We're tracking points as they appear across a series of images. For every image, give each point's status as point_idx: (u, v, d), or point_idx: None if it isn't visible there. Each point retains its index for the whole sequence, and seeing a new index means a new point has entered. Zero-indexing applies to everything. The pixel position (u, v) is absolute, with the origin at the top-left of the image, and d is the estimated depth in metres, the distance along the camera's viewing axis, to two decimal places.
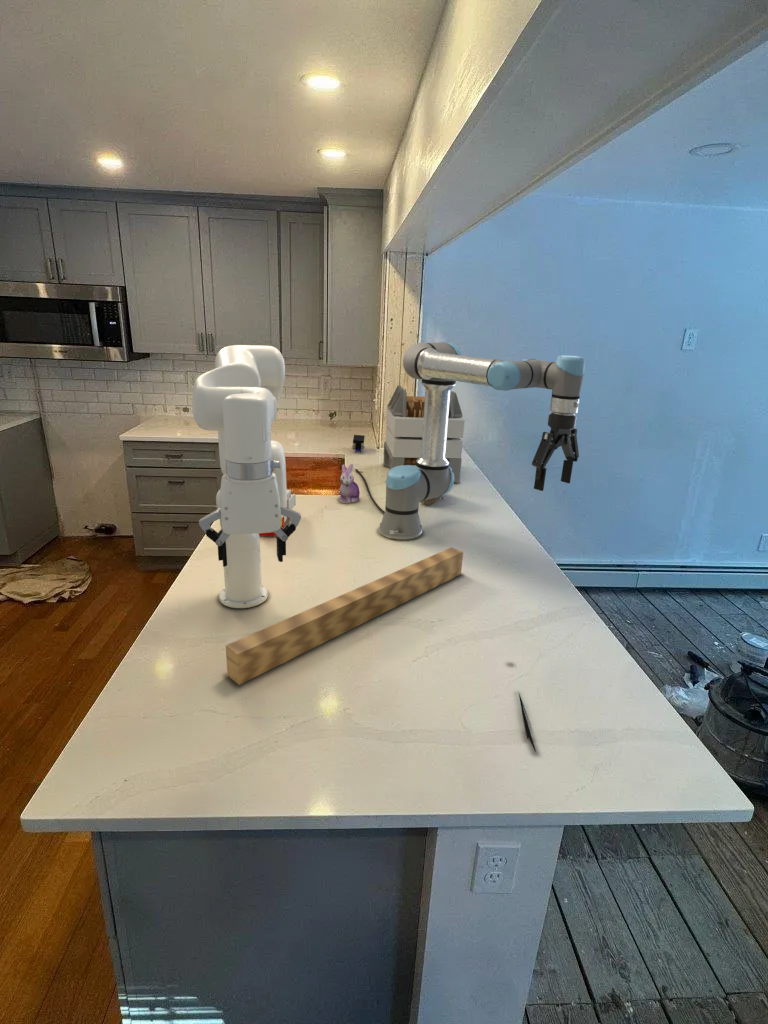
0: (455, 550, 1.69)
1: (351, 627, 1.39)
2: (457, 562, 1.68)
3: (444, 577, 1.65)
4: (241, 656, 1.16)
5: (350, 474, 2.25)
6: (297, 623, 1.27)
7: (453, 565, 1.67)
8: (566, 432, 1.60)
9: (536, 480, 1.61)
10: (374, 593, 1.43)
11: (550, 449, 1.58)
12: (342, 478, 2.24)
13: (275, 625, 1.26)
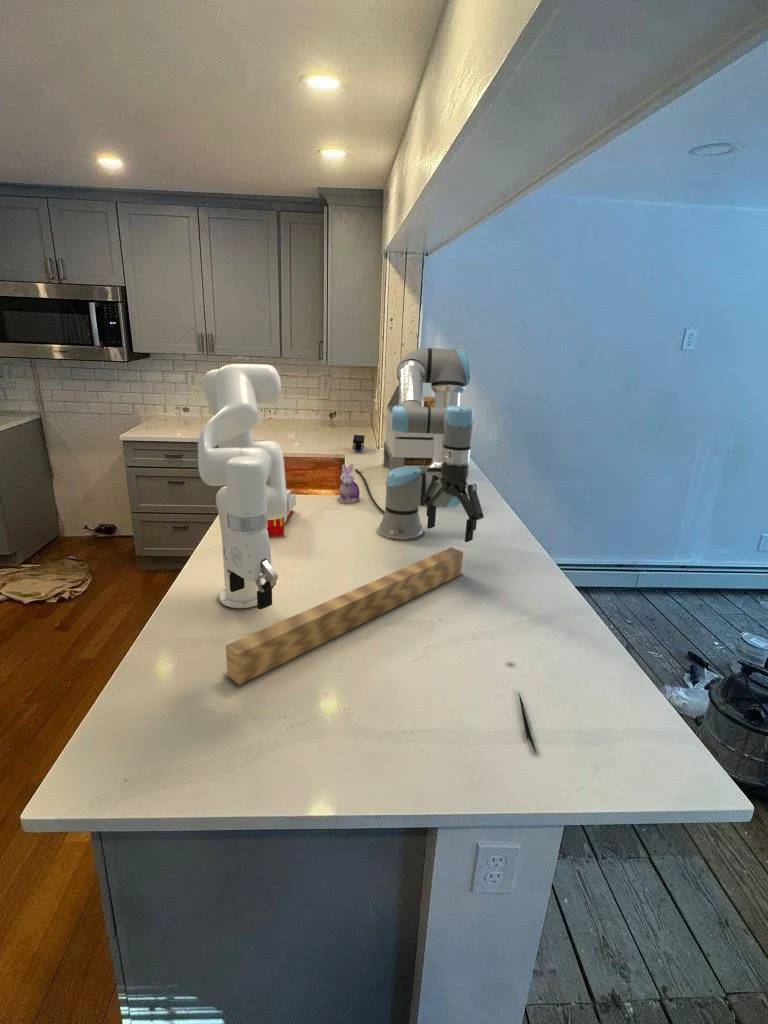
0: (455, 550, 1.69)
1: (351, 627, 1.39)
2: (457, 562, 1.68)
3: (444, 577, 1.65)
4: (241, 656, 1.16)
5: (350, 474, 2.25)
6: (297, 623, 1.27)
7: (453, 565, 1.67)
8: (455, 483, 1.57)
9: None
10: (374, 593, 1.43)
11: None
12: (342, 478, 2.24)
13: (275, 625, 1.26)
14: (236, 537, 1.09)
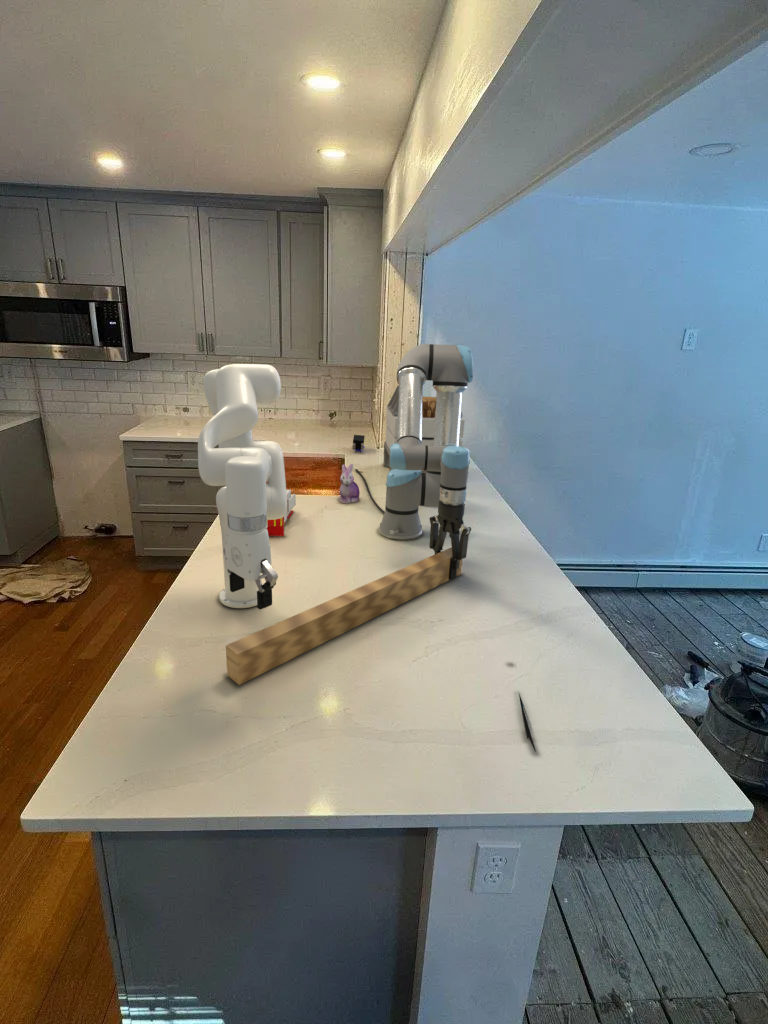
0: None
1: (351, 627, 1.39)
2: None
3: (444, 577, 1.65)
4: (241, 656, 1.16)
5: (350, 474, 2.25)
6: (297, 623, 1.27)
7: None
8: (453, 519, 1.61)
9: None
10: (374, 593, 1.43)
11: None
12: (342, 478, 2.24)
13: (275, 625, 1.26)
14: (236, 537, 1.09)
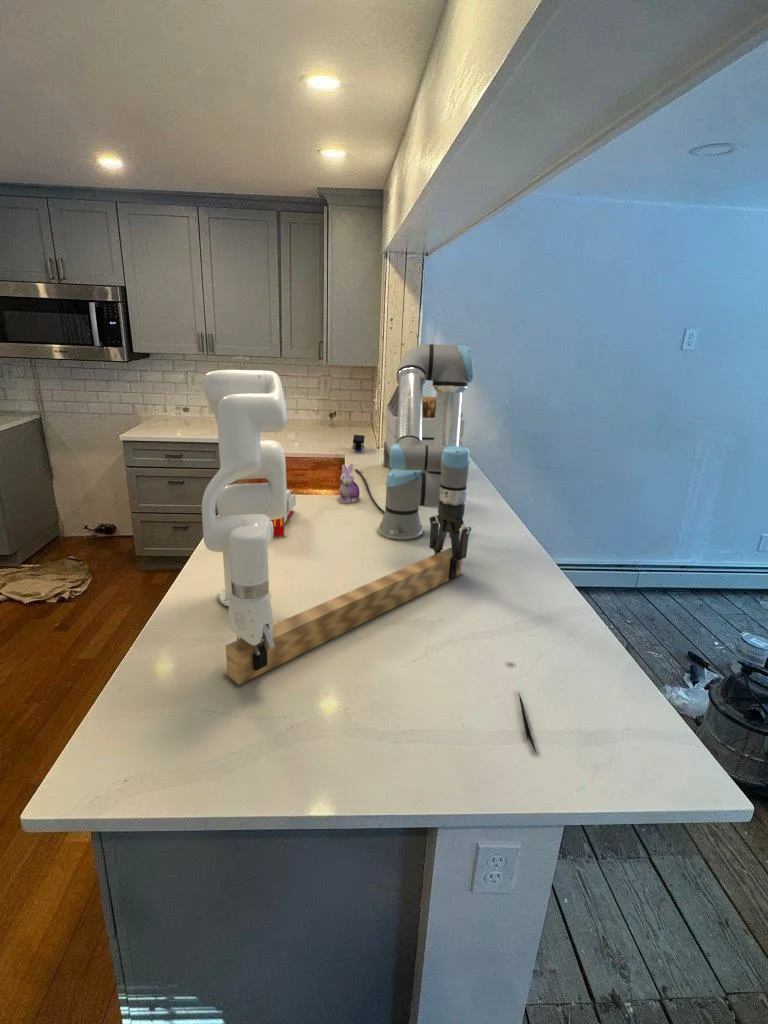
0: None
1: (351, 627, 1.39)
2: None
3: (444, 577, 1.65)
4: (241, 656, 1.16)
5: (350, 474, 2.25)
6: (297, 623, 1.27)
7: None
8: (453, 519, 1.61)
9: None
10: (374, 593, 1.43)
11: None
12: (342, 478, 2.24)
13: (275, 625, 1.26)
14: (239, 603, 1.14)
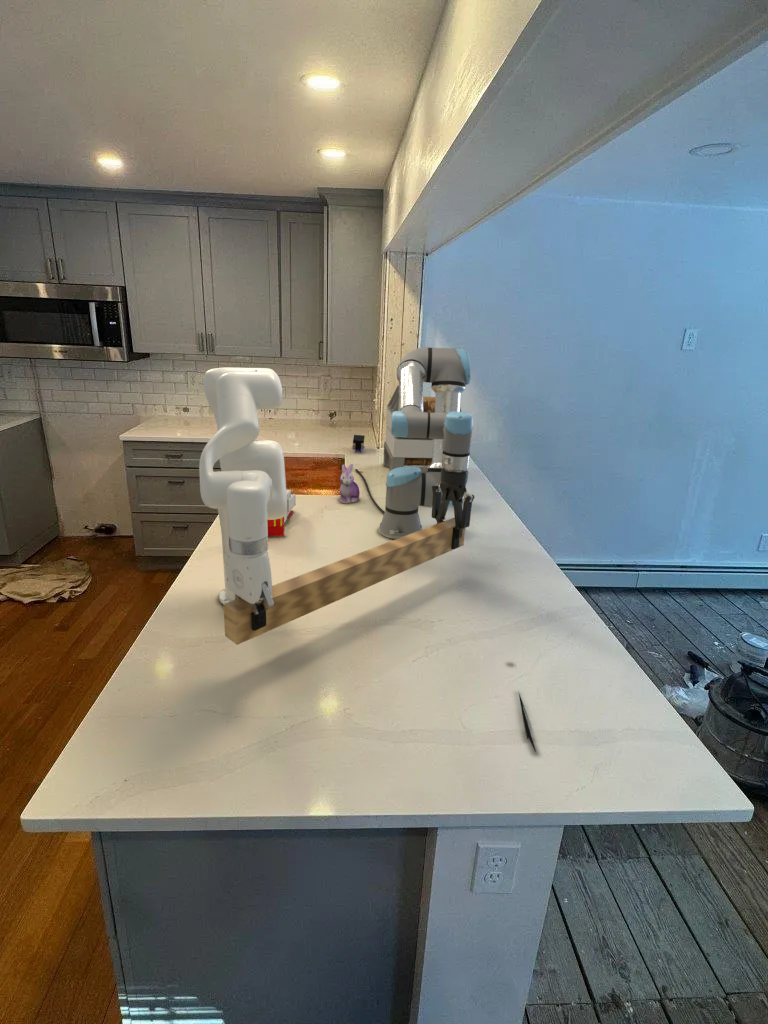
0: None
1: (352, 592, 1.37)
2: None
3: (446, 546, 1.62)
4: (239, 614, 1.13)
5: (350, 474, 2.25)
6: (297, 584, 1.24)
7: None
8: (456, 487, 1.58)
9: None
10: (376, 558, 1.40)
11: None
12: (342, 478, 2.24)
13: (274, 586, 1.23)
14: (237, 560, 1.11)
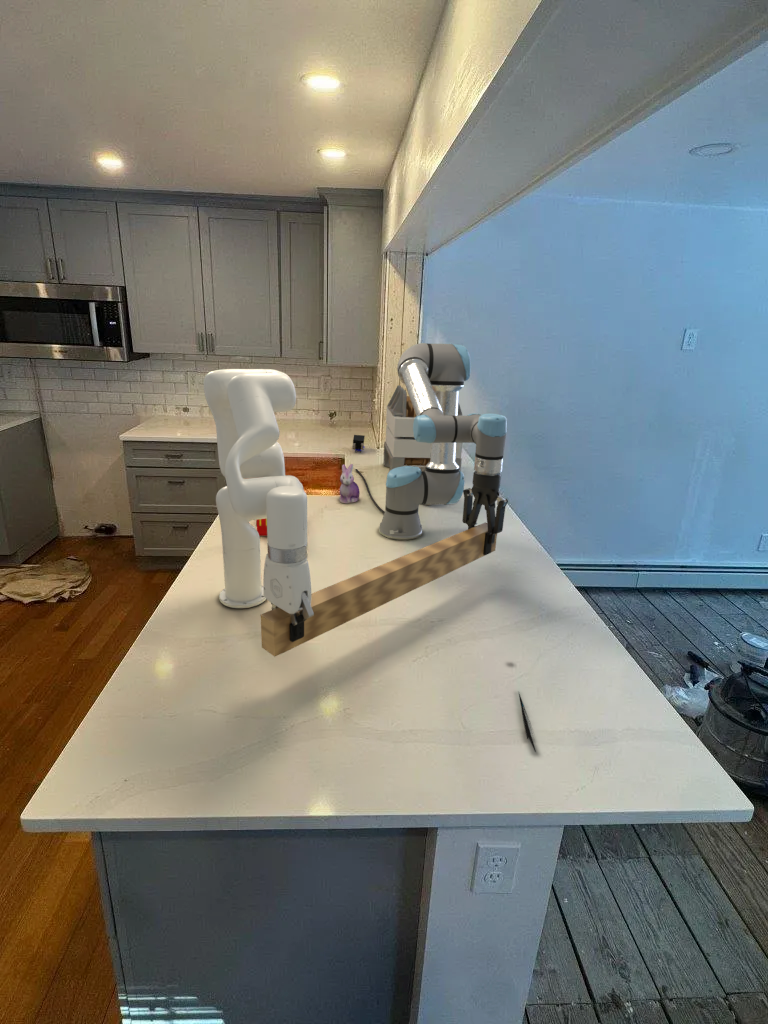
0: None
1: (387, 600, 1.32)
2: None
3: (478, 552, 1.57)
4: (278, 625, 1.09)
5: (350, 474, 2.25)
6: (334, 593, 1.20)
7: None
8: (489, 490, 1.54)
9: None
10: (411, 565, 1.36)
11: None
12: (342, 478, 2.24)
13: (311, 595, 1.19)
14: (276, 569, 1.07)
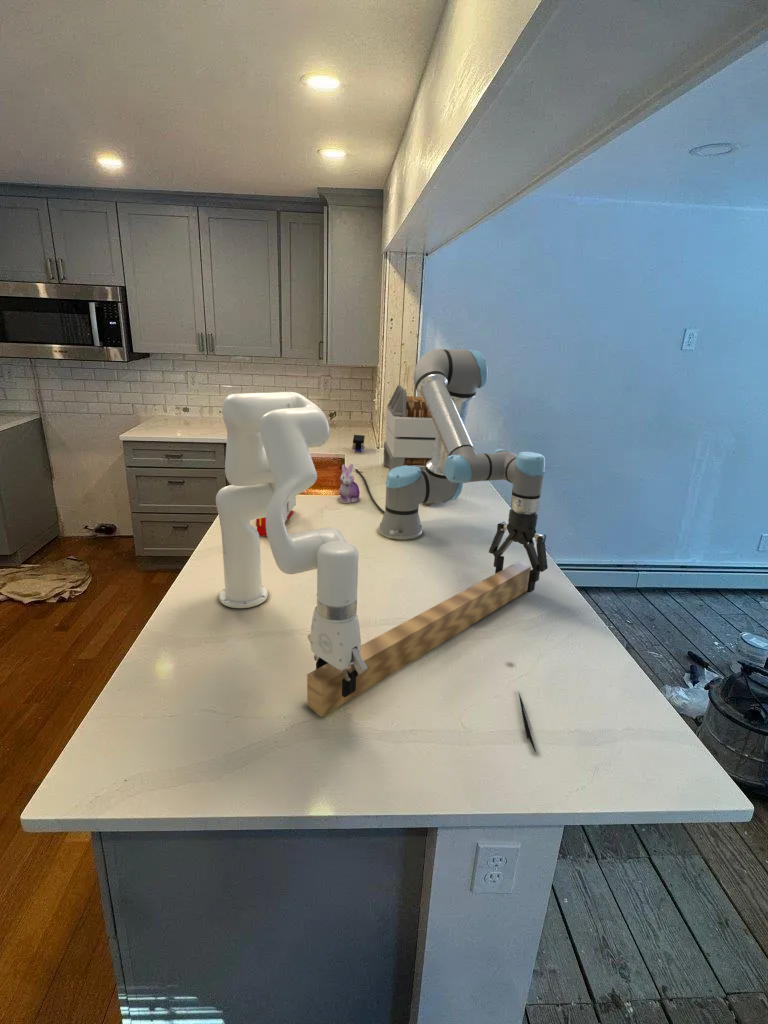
0: (523, 565, 1.61)
1: (427, 650, 1.31)
2: (525, 578, 1.60)
3: (512, 593, 1.57)
4: (325, 686, 1.08)
5: (350, 474, 2.25)
6: (377, 648, 1.19)
7: (521, 581, 1.59)
8: (524, 530, 1.53)
9: None
10: (450, 613, 1.35)
11: None
12: (342, 478, 2.24)
13: None
14: (326, 624, 1.06)
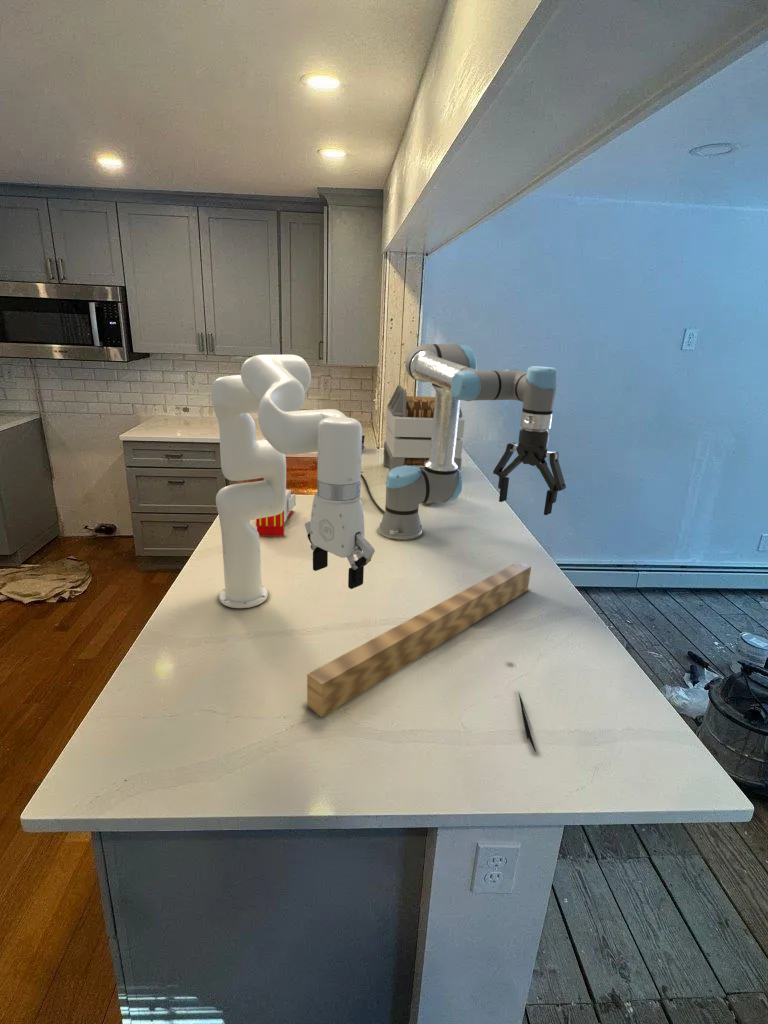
0: (523, 565, 1.61)
1: (427, 650, 1.31)
2: (525, 578, 1.60)
3: (512, 593, 1.57)
4: (325, 686, 1.08)
5: None
6: (377, 648, 1.19)
7: (521, 581, 1.59)
8: (535, 451, 1.45)
9: None
10: (450, 613, 1.35)
11: None
12: None
13: (354, 650, 1.18)
14: (327, 508, 0.98)
